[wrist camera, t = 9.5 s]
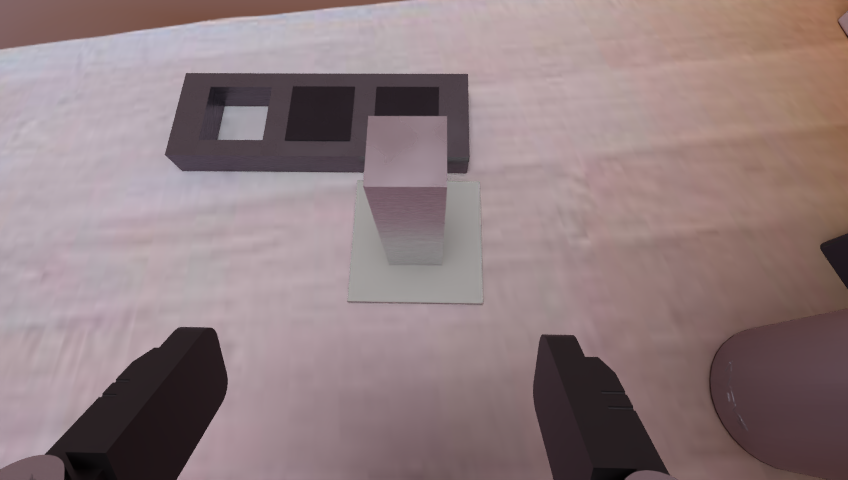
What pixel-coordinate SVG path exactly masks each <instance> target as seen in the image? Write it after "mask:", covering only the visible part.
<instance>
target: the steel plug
mask: <svg viewBox="0 0 848 480" xmlns="http://www.w3.org/2000/svg"><path fill="white" fill-rule="evenodd" d="M363 188H364V191H365V194H366V197H367V200H368V203H369V206H370V209H371V212H372V215H373V218H374V221H375V224H376V227H377V230H378V233H379V236H380V239H381V242H382V245H383V248H384V251H385V254H386V257H387V260H388V263H389V265H427V266H442V256H443V241H444V226H445V212H446V197H447V116H368V127H367V140H366V154H365V168H364V182H363Z"/></svg>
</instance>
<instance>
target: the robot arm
mask: <svg viewBox="0 0 848 480" xmlns="http://www.w3.org/2000/svg"><path fill="white" fill-rule="evenodd" d="M710 383H711V393H712V398H713V401H714V404H715V408H716V411H717V413H718V415H719V417H720V419H721V421H722V423H723V425H724V426H725V427H726V429H727V430H728V431H729V433H730V434H731V436H732V437H733V438H734V439H735V440H736V441H737V442H738V443H739V444H740V445H741V446H742V447H743V448H744V449H745V450H746V451H747V452H749V453H750V454H751V455H753V456H754V457H756V458H757V459H759V460H760V461H762V462H764V463H766V464H769V465H771V466H773V467H775V468H778V469H782V470H787V471H791V472H795V473H800V474H805V475H809V476H814V477H819V478H823V479H828V480H848V309H843V310H838V311H834V312H829V313H824V314H820V315H815V316H810V317H805V318H801V319H796V320H790V321H786V322H781V323H777V324H772V325H767V326H763V327H758V328H754V329H749V330H745V331H742V332H740V333H738V334H736V335H734V336H732V337H731V338H730V339H729V340H727V341H726V342H725V343H724V344H723V345H722V347H721V348H720V350H719V351H718V352H717V354H716V356H715V359H714V362H713V364H712V369H711V378H710ZM227 384H228V378H227V372H226V368H225V364H224V360H223V356H222V352H221V348H220V344H219V340H218V336H217V333H216V331H215V330H214V329H213V328H204V327H180V328H177V329H176V330H175V331H174V332H173V333H172V334H171V335H170V336H169V337H168V338H167V340H166V341H165V342H164V343H163V344H162V345H161V346H160V347H159V348H153V349H152V350H150V351H149V352H147V353H146V354H144V355H142V356H141V357H139V358H138V359H136V360H135V361H133V362H132V363H131V364H130V365H129V366H128V367H127V368H126V369H125V370H124V371H123V372H122V374H121V375H120V376H119V377H118V378H117V379H116V382H115V383H112V384H111V385H110V386H109V387H108V388H107V389H106V390H105V391H104V393H103V395H102V397H99V398H98V399H97V400H96V401H95V402H94V403H93V404H92V405H91V406H90V407H89V408H88V409H87V410H86V412H85V413H84V414H83V415H82V416H81V417H80V418H79V419H78V420H77V421H76V422H75V423H74V424H73V425H72V426H71V427H70V428H69V429H68V431H67V432H66V433H65V434H64V435H63V436H62V437H61V438H60V439H59V440H58V441H57V442H56V443H55V444H54V445H53V446H52V447H51V448H50V450H49V451H48V452H47V453H46V454H45V455H38V456H33V457H29V458H25V459H22V460H19V461H17V462H14V463H12V464H10V465H8V466H6V467H4V468H2V469H0V480H177V478H178V476H179V475H180V473H181V471H182V470H183V468H184V466H185V465H186V463H187V461H188V459H189V458H190V456H191V454H192V453H193V451H194V449H195V448H196V446H197V444H198V443H199V441H200V439H201V438H202V436H203V434H204V432H205V431H206V429H207V427H208V426H209V424H210V422H211V421H212V419H213V417H214V416H215V414H216V412H217V411H218V409H219V407H220V406H221V404H222V402H223V400H224V398H225V395H226V391H227ZM533 397H534V406H535V411H536V414H537V418H538V422H539V426H540V430H541V433H542V437H543V441H544V445H545V448H546V452H547V456H548V460H549V464H550V467H551V471H552V475H553V479H554V480H678V479H676V478H674V477H672V476H670V474H669V473H668V471H667V469H666V467H665V465H664V464H663V462H662V460H661V458H660V456H659V454H658V452H657V450H656V449H655V447H654V445H653V443H652V441H651V439H650V437H649V435H648V434H647V432H646V430H645V428H644V426H643V424H642V422H641V420H640V419H639V417H638V415H637V413H636V411H634V410H633V405H632V404H631V402H630V400H629V398H628V396H627V395H625V390H624V389H623V387H622V385H621V383H620V381H619V379H618V377H617V375H616V374H615V372H614V371H612V370H611V369H610V368H609V367H608V366H607V365H606V364H605V363H604V362H603V361H601V360H600V359H599V358H598V357H585V356H584V354H583V352H582V349H581V347H580V345H579V343H578V341H577V339H576V337H575V336H574V335H541V337H540V341H539V348H538V355H537V362H536V369H535V376H534V384H533Z"/></svg>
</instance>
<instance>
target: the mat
mask: <svg viewBox="0 0 848 480" xmlns="http://www.w3.org/2000/svg"><path fill="white" fill-rule="evenodd" d="M363 182H364V181H357V191H356V203H355V215H354V227H353V239H352V251H351V263H350V276H349V288H348V300H347V301H348V302H365V303H427V304H483V286H482V249H481V211H480V182H463V181H447V197H446V212H445V226H444V241H443V256H442V266H427V265H389V263H388V260H387V257H386V254H385V251H384V248H383V245H382V242H381V239H380V236H379V233H378V230H377V227H376V224H375V221H374V218H373V215H372V212H371V209H370V206H369V203H368V200H367V197H366V194H365V191H364V188H363Z"/></svg>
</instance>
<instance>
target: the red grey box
mask: <svg viewBox="0 0 848 480" xmlns="http://www.w3.org/2000/svg"><path fill="white" fill-rule="evenodd" d="M820 249H821V251H822V252H823V254H824V255H825V257H826V258H827V260H828V261H829V263H830V264H831V265H832V267H833V268H834V270H835V271H836V273H837V274H838V276H839V277H840V279H841V280H842V282H843V283H844V284H845V286H846V287H847V289H848V234H845V235H842V236H840V237H837V238H835V239H832V240H830V241H827V242H825V243H822V244H821V246H820Z"/></svg>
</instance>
